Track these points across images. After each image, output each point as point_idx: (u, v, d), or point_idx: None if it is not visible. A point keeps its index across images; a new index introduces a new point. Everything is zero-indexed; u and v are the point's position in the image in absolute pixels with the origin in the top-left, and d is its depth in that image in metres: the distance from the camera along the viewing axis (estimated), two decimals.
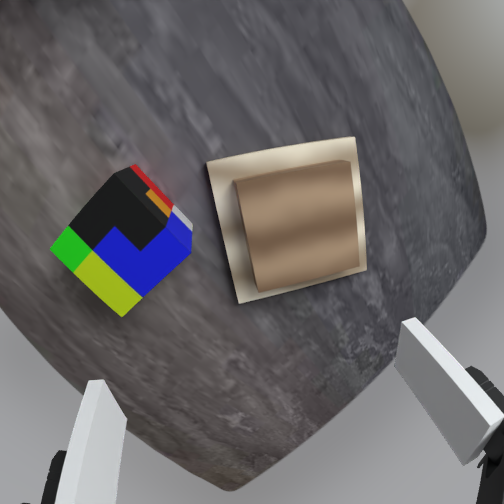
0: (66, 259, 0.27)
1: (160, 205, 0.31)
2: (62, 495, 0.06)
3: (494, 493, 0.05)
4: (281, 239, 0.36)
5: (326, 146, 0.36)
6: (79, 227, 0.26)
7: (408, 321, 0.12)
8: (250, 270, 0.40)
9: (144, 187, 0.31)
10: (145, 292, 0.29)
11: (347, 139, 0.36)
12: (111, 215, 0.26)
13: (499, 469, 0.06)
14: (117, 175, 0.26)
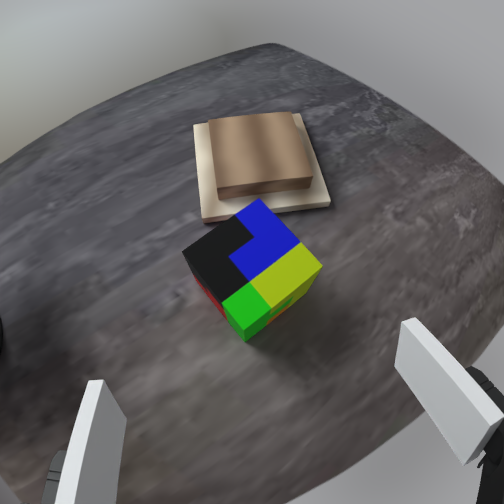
0: (256, 312, 0.30)
1: None
2: (62, 495, 0.06)
3: (494, 493, 0.05)
4: (265, 159, 0.43)
5: (199, 140, 0.48)
6: (224, 291, 0.30)
7: (408, 321, 0.12)
8: (298, 190, 0.45)
9: None
10: (295, 238, 0.33)
11: (195, 129, 0.49)
12: (217, 257, 0.32)
13: (499, 469, 0.06)
14: None
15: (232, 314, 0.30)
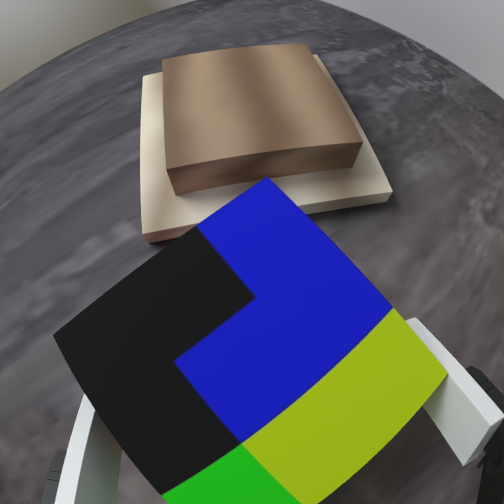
0: None
1: None
2: (62, 495, 0.06)
3: (494, 493, 0.05)
4: (266, 111, 0.21)
5: (149, 97, 0.26)
6: (167, 466, 0.08)
7: (408, 321, 0.12)
8: (332, 171, 0.22)
9: None
10: (378, 297, 0.10)
11: (144, 81, 0.27)
12: (143, 364, 0.09)
13: (499, 469, 0.06)
14: None
15: None
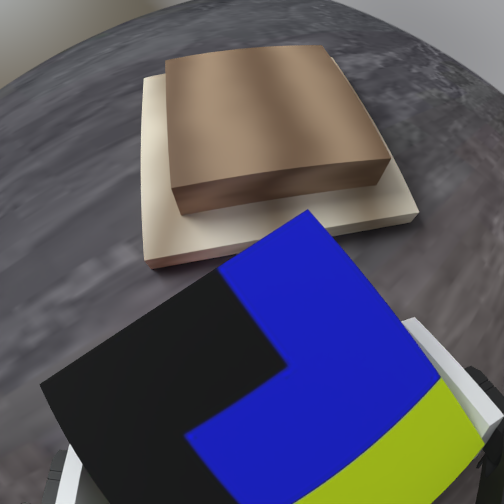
0: None
1: None
2: (63, 495, 0.06)
3: (493, 493, 0.05)
4: (284, 121, 0.18)
5: (150, 101, 0.23)
6: None
7: (408, 321, 0.12)
8: (355, 190, 0.20)
9: None
10: (426, 366, 0.08)
11: (145, 84, 0.25)
12: (146, 434, 0.07)
13: (498, 469, 0.06)
14: None
15: None
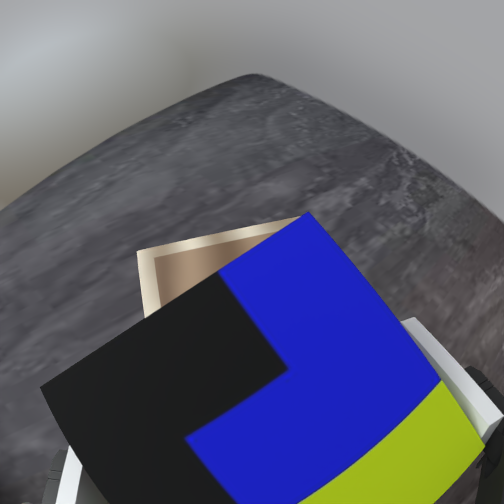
0: None
1: None
2: (63, 494, 0.06)
3: (493, 493, 0.05)
4: None
5: (147, 284, 0.31)
6: None
7: (407, 321, 0.12)
8: None
9: None
10: (427, 369, 0.08)
11: (139, 259, 0.32)
12: (147, 437, 0.07)
13: (498, 469, 0.06)
14: None
15: None
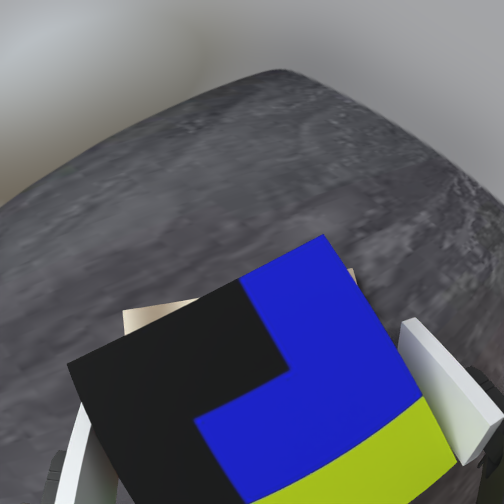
0: None
1: None
2: (62, 495, 0.06)
3: (494, 493, 0.05)
4: None
5: None
6: None
7: (408, 321, 0.12)
8: None
9: None
10: (411, 384, 0.09)
11: (126, 323, 0.22)
12: (160, 416, 0.09)
13: (499, 469, 0.06)
14: None
15: None
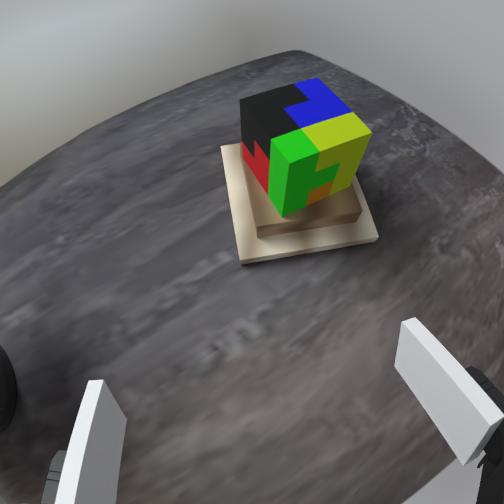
0: (304, 152, 0.28)
1: None
2: (62, 495, 0.06)
3: (494, 493, 0.05)
4: None
5: (229, 165, 0.44)
6: (275, 131, 0.29)
7: (408, 321, 0.12)
8: (344, 225, 0.40)
9: None
10: (347, 108, 0.31)
11: (223, 151, 0.45)
12: (273, 108, 0.31)
13: (499, 469, 0.06)
14: None
15: (280, 149, 0.28)
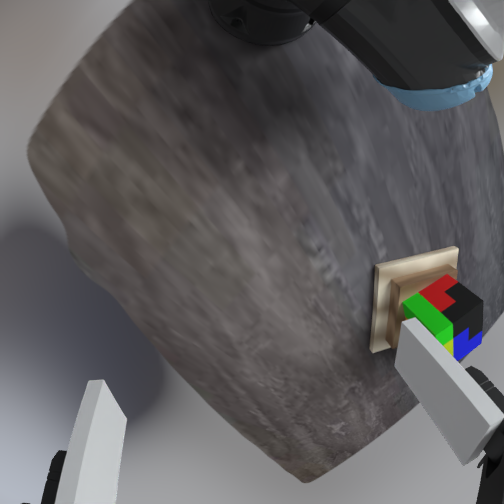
0: None
1: None
2: (62, 495, 0.06)
3: (494, 493, 0.05)
4: None
5: (443, 256, 0.50)
6: (456, 325, 0.39)
7: (408, 321, 0.12)
8: (385, 332, 0.54)
9: None
10: None
11: (454, 250, 0.50)
12: (470, 321, 0.40)
13: (499, 469, 0.06)
14: None
15: (445, 329, 0.39)
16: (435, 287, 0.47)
